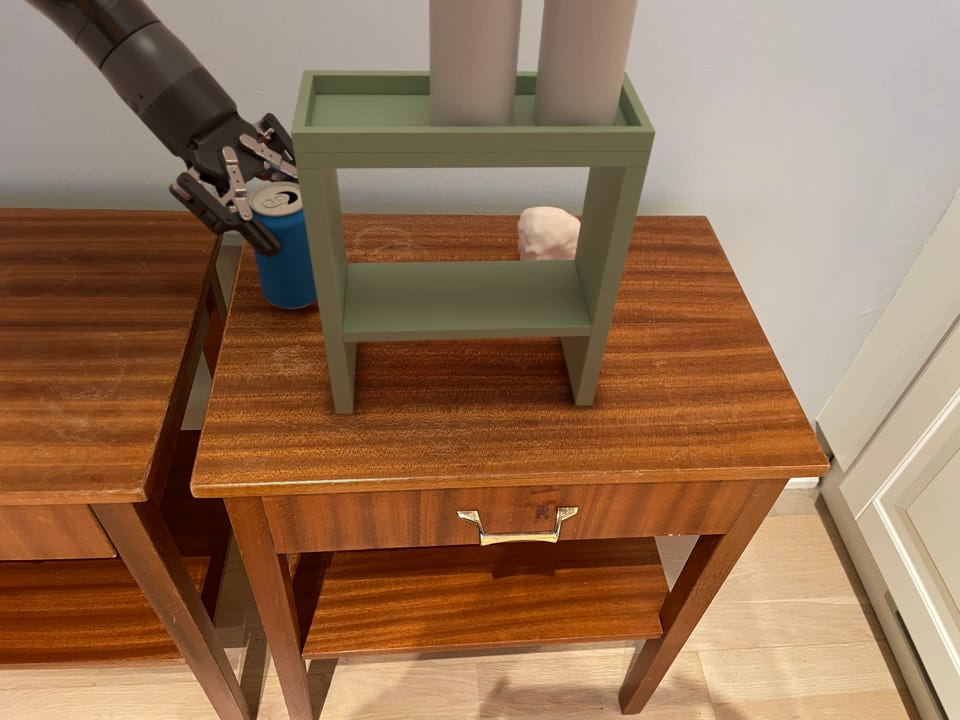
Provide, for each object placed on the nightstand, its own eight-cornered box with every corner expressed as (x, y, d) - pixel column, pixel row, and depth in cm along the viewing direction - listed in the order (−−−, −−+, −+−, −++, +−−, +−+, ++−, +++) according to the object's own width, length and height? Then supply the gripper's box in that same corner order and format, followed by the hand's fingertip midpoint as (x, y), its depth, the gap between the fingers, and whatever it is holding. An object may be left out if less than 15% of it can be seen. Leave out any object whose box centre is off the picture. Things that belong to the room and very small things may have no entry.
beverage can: (337, 297, 78) (326, 201, 69) (284, 322, 75) (265, 225, 66) (304, 266, 81) (290, 172, 72) (252, 290, 78) (230, 193, 69)
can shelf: (296, 169, 49) (262, -44, 40) (308, 104, 56) (281, -93, 46) (647, 166, 51) (695, -36, 42) (620, 104, 58) (655, -84, 48)
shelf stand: (335, 414, 68) (296, 169, 49) (340, 345, 74) (308, 104, 56) (591, 405, 70) (647, 166, 51) (575, 338, 76) (620, 104, 58)
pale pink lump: (518, 193, 79) (622, 198, 81) (505, 255, 85) (603, 259, 87) (528, 227, 75) (638, 232, 77) (514, 290, 81) (616, 293, 83)
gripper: (128, 102, 59) (273, 260, 64) (238, 39, 68) (357, 182, 74) (98, 145, 64) (235, 288, 69) (204, 81, 73) (317, 212, 79)
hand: (297, 233), depth 71 cm, fingers closed on beverage can, 6 cm apart
